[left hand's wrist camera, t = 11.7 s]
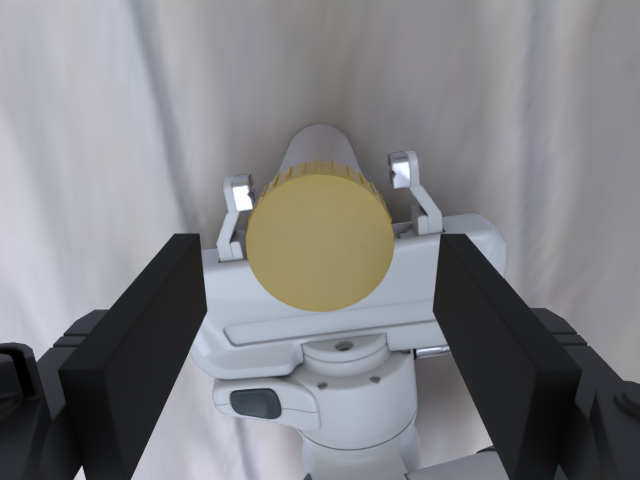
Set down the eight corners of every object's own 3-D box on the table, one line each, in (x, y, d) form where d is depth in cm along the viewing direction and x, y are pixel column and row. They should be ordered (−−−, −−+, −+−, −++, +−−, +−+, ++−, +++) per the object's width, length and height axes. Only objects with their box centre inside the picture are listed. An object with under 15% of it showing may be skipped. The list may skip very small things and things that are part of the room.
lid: (254, 152, 17) (245, 164, 15) (397, 165, 17) (408, 179, 15) (249, 281, 19) (241, 308, 17) (378, 291, 19) (385, 319, 17)
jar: (288, 120, 31) (258, 174, 16) (356, 127, 31) (392, 186, 16) (284, 187, 32) (253, 293, 17) (349, 192, 32) (374, 303, 17)
